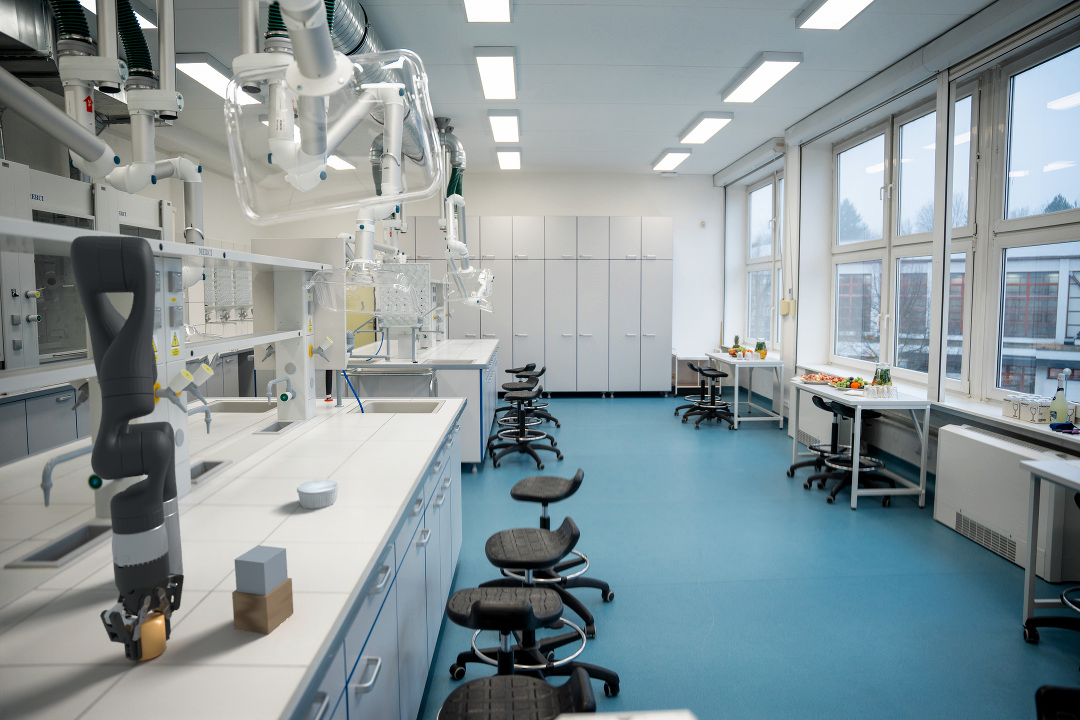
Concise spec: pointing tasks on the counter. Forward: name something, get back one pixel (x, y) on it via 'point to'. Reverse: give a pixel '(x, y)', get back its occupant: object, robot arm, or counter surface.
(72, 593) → the counter surface
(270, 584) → the grey top cube
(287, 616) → the walnut base cube
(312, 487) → the ramekin
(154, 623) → the orange rounded cylinder
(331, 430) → the counter surface
